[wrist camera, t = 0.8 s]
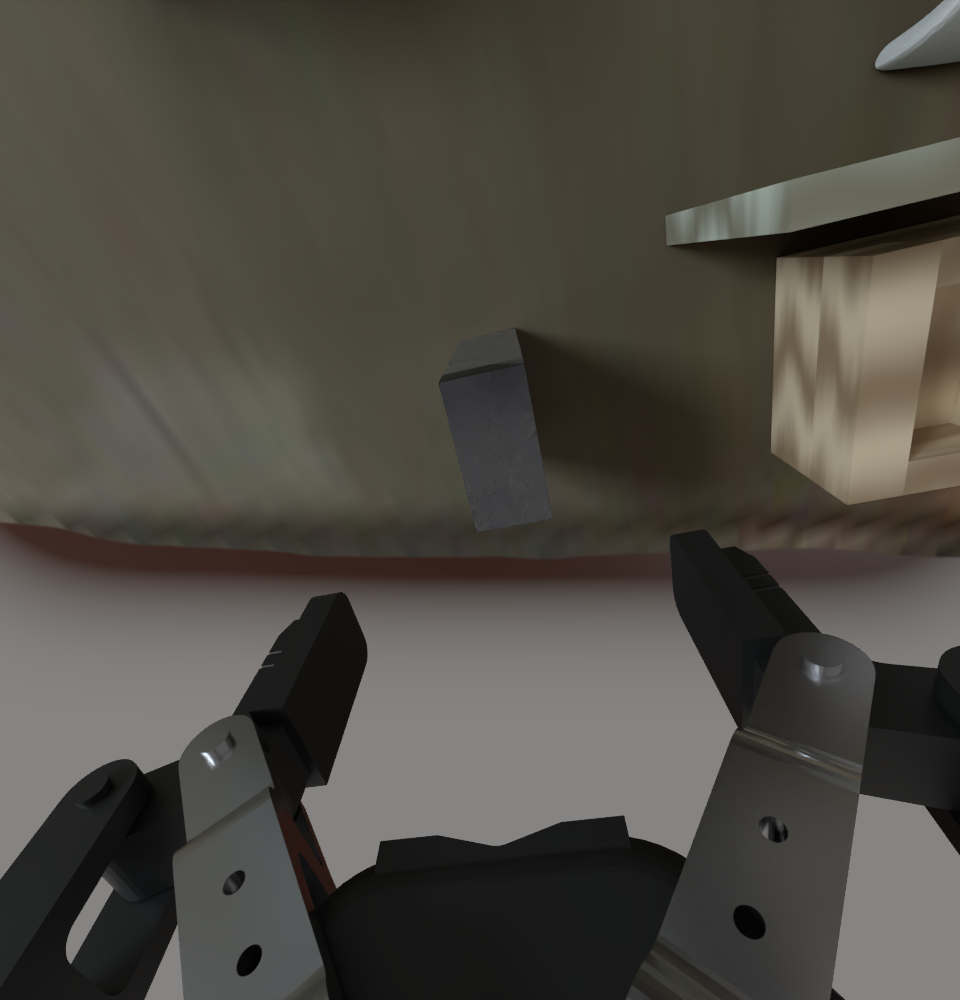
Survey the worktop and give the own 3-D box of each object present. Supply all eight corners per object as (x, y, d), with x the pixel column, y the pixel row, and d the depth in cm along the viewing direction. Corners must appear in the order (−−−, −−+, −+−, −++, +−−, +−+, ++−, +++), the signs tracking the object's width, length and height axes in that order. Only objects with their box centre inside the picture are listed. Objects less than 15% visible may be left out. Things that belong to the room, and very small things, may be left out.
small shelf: (665, 216, 27) (791, 179, 16) (1115, 102, 24) (1681, -45, 13) (679, 469, 34) (776, 578, 22) (1036, 402, 31) (1364, 486, 19)
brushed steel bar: (459, 340, 30) (438, 383, 20) (515, 327, 30) (524, 364, 19) (483, 445, 33) (477, 531, 23) (534, 434, 33) (552, 518, 22)
